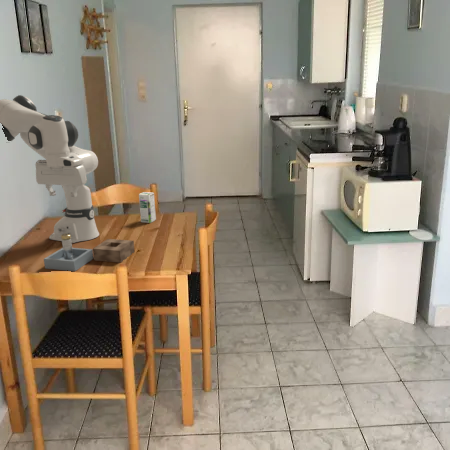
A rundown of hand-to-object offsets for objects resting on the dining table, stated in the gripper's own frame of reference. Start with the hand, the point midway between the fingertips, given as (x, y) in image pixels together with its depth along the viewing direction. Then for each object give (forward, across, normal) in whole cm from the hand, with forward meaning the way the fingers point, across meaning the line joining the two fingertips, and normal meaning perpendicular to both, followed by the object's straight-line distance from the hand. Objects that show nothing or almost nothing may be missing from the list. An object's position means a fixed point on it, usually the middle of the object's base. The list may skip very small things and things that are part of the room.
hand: (63, 196), depth 188 cm
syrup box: (+28, +6, +58) cm, 65 cm away
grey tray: (+28, -1, -1) cm, 28 cm away
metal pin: (+26, -1, -1) cm, 27 cm away
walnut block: (+28, +13, +10) cm, 32 cm away
